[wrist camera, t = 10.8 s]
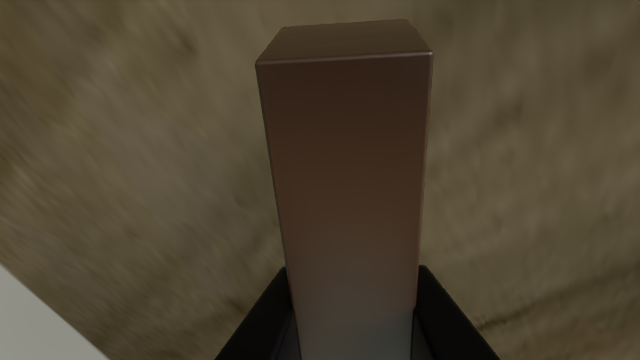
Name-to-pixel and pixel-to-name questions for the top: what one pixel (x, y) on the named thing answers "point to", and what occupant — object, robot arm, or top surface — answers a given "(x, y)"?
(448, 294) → the robot arm
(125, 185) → the top surface
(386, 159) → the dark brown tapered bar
